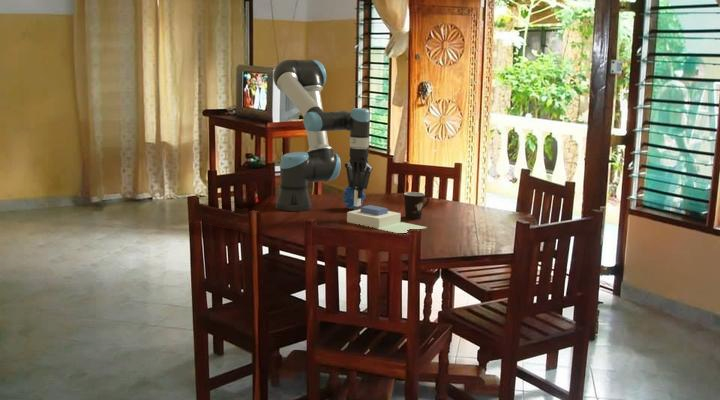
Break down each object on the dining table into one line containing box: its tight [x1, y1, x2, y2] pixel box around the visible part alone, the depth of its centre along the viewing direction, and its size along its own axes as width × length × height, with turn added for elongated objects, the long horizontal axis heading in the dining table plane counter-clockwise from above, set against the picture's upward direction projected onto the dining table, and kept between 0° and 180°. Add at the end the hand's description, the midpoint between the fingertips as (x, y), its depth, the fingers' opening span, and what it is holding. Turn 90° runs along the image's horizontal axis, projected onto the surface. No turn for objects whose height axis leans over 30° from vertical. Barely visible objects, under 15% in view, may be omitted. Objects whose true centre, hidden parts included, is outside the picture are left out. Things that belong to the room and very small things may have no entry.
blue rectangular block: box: [360, 204, 389, 216], centre depth 305 cm, size 9×6×2 cm, turn 51°
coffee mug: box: [403, 191, 430, 221], centre depth 316 cm, size 12×9×10 cm
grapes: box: [342, 184, 366, 211], centre depth 329 cm, size 12×7×12 cm, turn 53°
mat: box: [377, 221, 428, 234], centre depth 298 cm, size 12×16×1 cm
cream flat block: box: [346, 208, 402, 230], centre depth 306 cm, size 16×14×4 cm
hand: (357, 205), depth 310 cm, fingers closed
